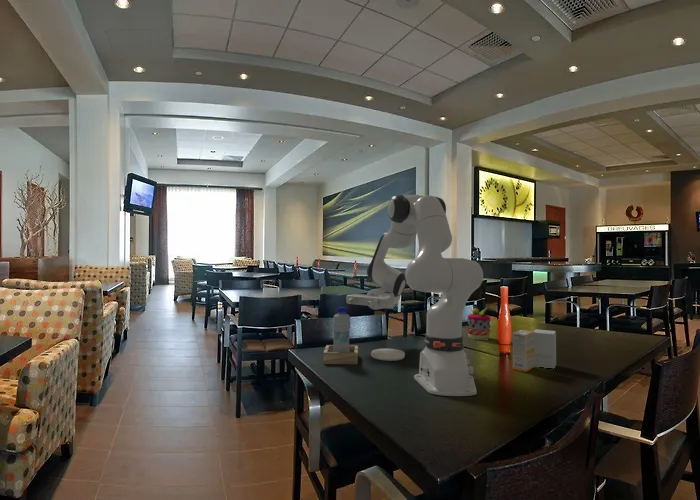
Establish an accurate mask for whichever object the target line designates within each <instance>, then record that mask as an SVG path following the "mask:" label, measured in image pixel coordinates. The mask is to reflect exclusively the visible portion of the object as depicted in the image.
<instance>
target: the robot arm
mask: <svg viewBox="0 0 700 500" xmlns="http://www.w3.org/2000/svg"><path fill="white" fill-rule="evenodd" d="M387 213H388V217H389V218H390V220H391V223H390V228H389V230H387V231H385V232H384V233H382V235H381V237H380V239H379V240H378V243H377V244H376V245H377V246H376V249H375V251H374V253H373V256H372V259H371V260H370V263H369V265H368V267H367V269H366V275H367V278H368V280H369V281H371V282H374V283H375V284H377V285H380V286H381V287H379V288H373V289H370V290H369V291H368V292H367V293H366V294H360V293H353V294H347V295H346V297H345V298H346V299H345V300H346V301H345V302H346V304H350V305H359V306H368V307H369V308H370V309H371V310H381V309H388V310H389V309H391V310H392V309H395V305H396V304H397V303H398V302H400V299H401V296H402V294H403V292H404V291H405V288H406V285H408V286H409V288H410V289H411V290H413V291H417V292H423V293H442V294H441V297H440V299H439V300H438V301H437V302H436V303H433V304H432V305H431V306H429V308H428V309H427V312H426V325H425V326H426V331H425V332H426V333H425V335H424V346H425V347H424V349H422V350H421V351H420V353H419V370H418V371H419V373H416V374H414V375H413V379H414V381H416V382H417V383H418V384H419V385H420V386H421V387H422V388H423V389H424V390H425V391H426V392H427V393H429V394H430V395H431V394H432V395H435V396H436V395H437V396H446V397H469V396H475V395H477V394H478V393H477V387H476V384H475V379H474V376H473V375H474V366H470V363H471V362H470V361H471V360H470V359H468V358H467V353H466V352H465V351H464V349H465V347H464V346H465V345H464V337H463V333H462V332H463V331H462V330H463V328H462V327H463V313H464V309H465V306H466V304H467V302H468V300H469V298H470V297H471V295H472V294H473V293H474V292H475V291H476V290H477V289H479V288H480V287H481V285H482V283H483V281H484V271H483V268H482V267H481V264H480V263H479V262H478V261H476V260H472V259H468V258H463V257H462V258H460V257H443V256H442V253H443V252H445V251H446V250H447V249H449V248H450V246H451V245H452V241H453V235H452V232H451V228H450V224H449V222H448V221H449V220H448V218H447V214H446V213H447V204H446V202H445V201H444V199H443V198H441V197H439V196H434V195H423V194H422V195H420V194H404V195H403V194H397V195H393V196H392V197H391V198H390V200H389V202H388V206H387ZM416 237H417V240H418V250H417V251H418V252H417V254H416V255H415V257H414V258H413V259H412V260H411V261H410V262H409V263H408V264H407V266H406V269H405V273H404V272H402V271H400V270H399V269H396V268H395V267H392V266H391V265H389V264H388V263H386V262H385V258H386V255H387V253H388V250H389V249H398V250H399V249H406V248H409V247H410V246H411V245H413V244H414V242H415V240H416ZM468 365H469V366H468Z"/></svg>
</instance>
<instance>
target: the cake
mask: <svg viewBox="0 0 700 500" xmlns="http://www.w3.org/2000/svg"><path fill="white" fill-rule="evenodd" d="M487 311H488V306H486V307H485V308H484V309H482V310H481V311H480V310H479V309H478V308H473V309H472V313H469V314H467V322H466V323H467V328H466V330H467V338H468V337H469V338H471V339H470V340H473V339H476V340H475V341H488V340H487V339H489V340H490V334H491V324H490V323H491V316H490V315H488V314H486V312H487ZM469 338H468V339H469Z"/></svg>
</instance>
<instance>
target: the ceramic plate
mask: <svg viewBox="0 0 700 500" xmlns="http://www.w3.org/2000/svg"><path fill="white" fill-rule="evenodd" d="M405 355H406V353H405V351H403V350H400V349H396V348H376V349H372V351H371V353H370V357H371V356H372V357H373V358H372V357H371V358H372V359H374V360H378V361H387V362H391V361H401V360H403V359H405V357H406V356H405Z"/></svg>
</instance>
